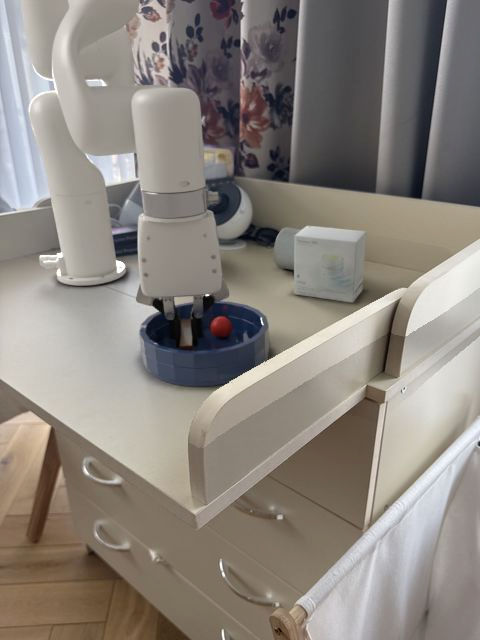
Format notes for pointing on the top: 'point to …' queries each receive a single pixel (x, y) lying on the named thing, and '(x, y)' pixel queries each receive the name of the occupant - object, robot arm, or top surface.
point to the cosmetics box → (329, 263)
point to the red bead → (221, 327)
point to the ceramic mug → (285, 248)
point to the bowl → (206, 346)
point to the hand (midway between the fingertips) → (187, 341)
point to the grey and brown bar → (186, 335)
